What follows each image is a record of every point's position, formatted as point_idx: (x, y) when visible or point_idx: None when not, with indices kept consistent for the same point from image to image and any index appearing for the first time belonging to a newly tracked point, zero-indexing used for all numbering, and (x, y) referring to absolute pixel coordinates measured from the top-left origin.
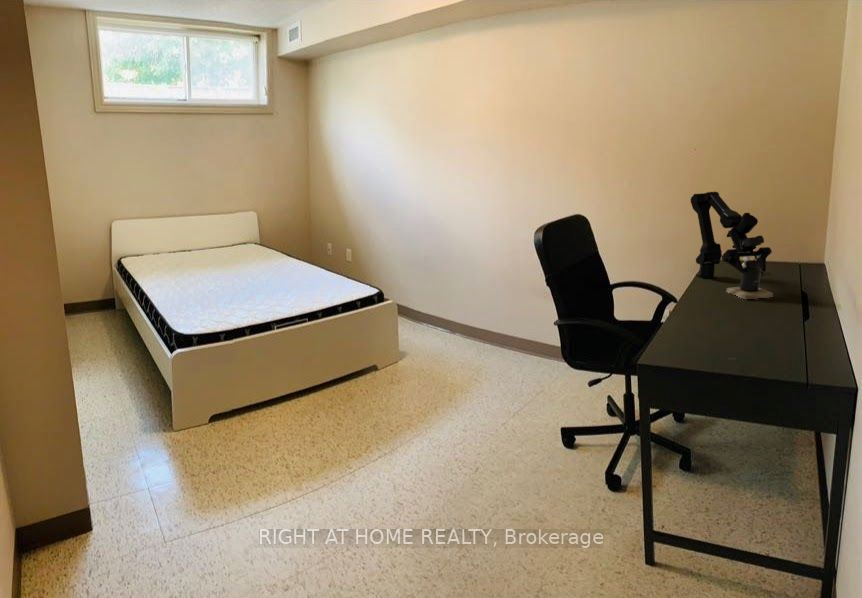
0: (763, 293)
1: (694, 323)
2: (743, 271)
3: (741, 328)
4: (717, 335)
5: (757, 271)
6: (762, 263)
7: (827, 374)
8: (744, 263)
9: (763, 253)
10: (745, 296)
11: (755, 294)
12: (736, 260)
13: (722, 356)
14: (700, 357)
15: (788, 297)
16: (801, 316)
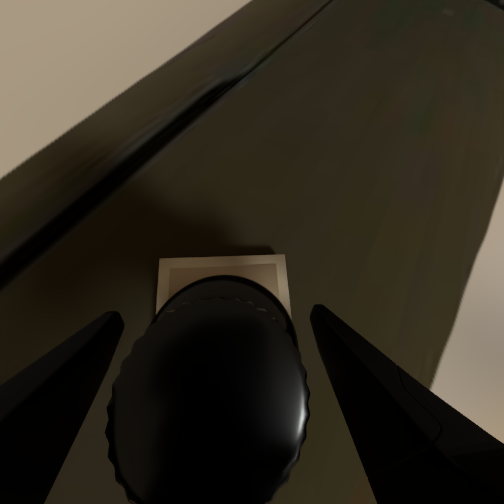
0: (200, 263)
1: (471, 131)
2: (323, 307)
3: (392, 85)
4: (444, 73)
5: (216, 276)
6: (37, 407)
7: None
8: None
9: None
10: (283, 257)
11: (240, 258)
12: (493, 438)
13: (458, 19)
14: (486, 26)
15: (100, 256)
16: (221, 99)
